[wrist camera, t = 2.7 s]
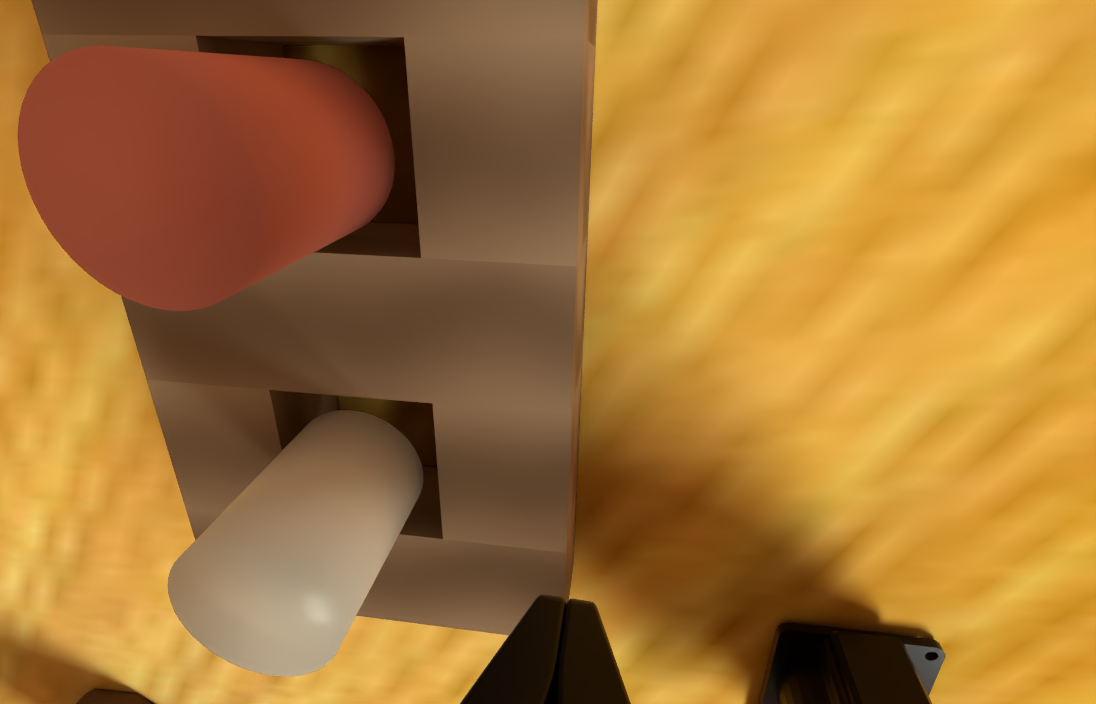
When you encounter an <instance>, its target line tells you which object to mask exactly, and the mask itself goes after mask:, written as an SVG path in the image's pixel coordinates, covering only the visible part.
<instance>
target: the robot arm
mask: <svg viewBox="0 0 1096 704" xmlns="http://www.w3.org/2000/svg"><path fill="white" fill-rule="evenodd" d="M944 658H945V653H944V651H943V650H942V648H941V646H940V644H939V643H938V642H937V641H935V640H932V639H925V638H916V637H908V636H900V635H891V634H883V633H875V632H866V631H858V630H850V629H841V628H833V627H825V626H816V625H808V624H799V623H791V622H790V623H783V624H781V625H779V626H778V628H777V630H776V634H775V638H774V642H773V646H772V650H771V654H770V658H769V662H768V666H767V670H766V674H765V678H764V683H763V687H762V691H761V695H760V699H759V703H758V704H932V702H931V700H930V698H929V694H930V691H931V689H932V687H933V684H934V682H935V680H936V677H937V675H938V672H939V670H940V668H941V665H942V663H943V661H944ZM460 704H631V703H630V700H629V697H628V695H627V692H626V689H625V686H624V683H623V680H622V677H621V675H620V672H619V669H618V666H617V663H616V660H615V657H614V654H613V652H612V649H611V646H610V643H609V640H608V637H607V634H606V632H605V629H604V626H603V623H602V620H601V617H600V614H599V612H598V609H597V607H596V605H595V604H594V603H593V602H591V601H584V600H577V599H570V600H568V601H567V605H566V600H565V599H564V598H563V597H558V596H551V595H544V594H541V595H539V596H538V597H537V598H536V599H535V600H534V602H533V603H532V605H531V606H530V607H529V609H528V610H527V612H526V613H525V614H524V616H523V617H522V618H521V620H520V621H519V623H518V624H517V625H516V627H515V628H514V630H513V631H512V632H511V634H510V635H509V636H508V638H507V639H506V641H505V642H504V643H503V645H502V646H501V648H500V649H499V650H498V652H497V653H496V654H495V656H494V657H493V659H492V660H491V661H490V663H489V664H488V666H487V667H486V668H485V670H484V671H483V672H482V674H481V675H480V677H479V678H478V679H477V681H476V682H475V684H474V685H473V686H472V688H471V689H470V690H469V692H468V693H467V695H466V696H465V697H464V699H463V700H462V702H461V703H460Z"/></svg>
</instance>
